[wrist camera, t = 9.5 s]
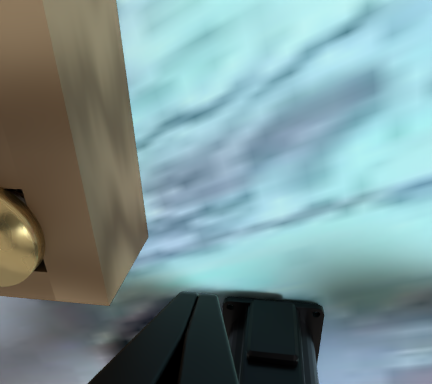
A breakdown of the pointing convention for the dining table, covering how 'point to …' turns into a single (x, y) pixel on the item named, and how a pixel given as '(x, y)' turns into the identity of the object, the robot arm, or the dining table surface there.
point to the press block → (71, 145)
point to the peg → (18, 238)
